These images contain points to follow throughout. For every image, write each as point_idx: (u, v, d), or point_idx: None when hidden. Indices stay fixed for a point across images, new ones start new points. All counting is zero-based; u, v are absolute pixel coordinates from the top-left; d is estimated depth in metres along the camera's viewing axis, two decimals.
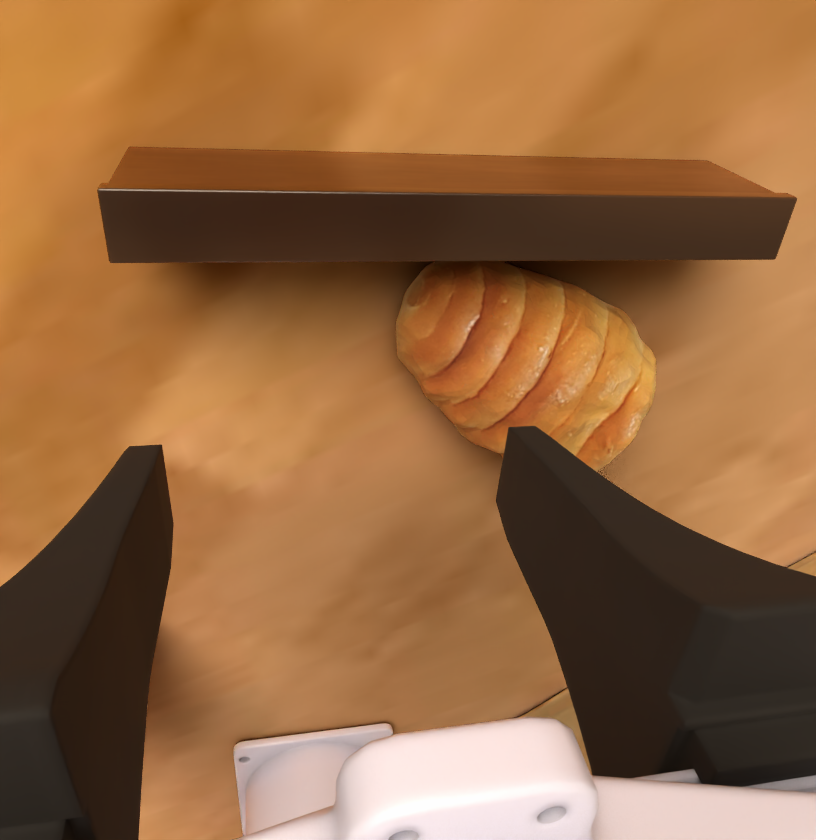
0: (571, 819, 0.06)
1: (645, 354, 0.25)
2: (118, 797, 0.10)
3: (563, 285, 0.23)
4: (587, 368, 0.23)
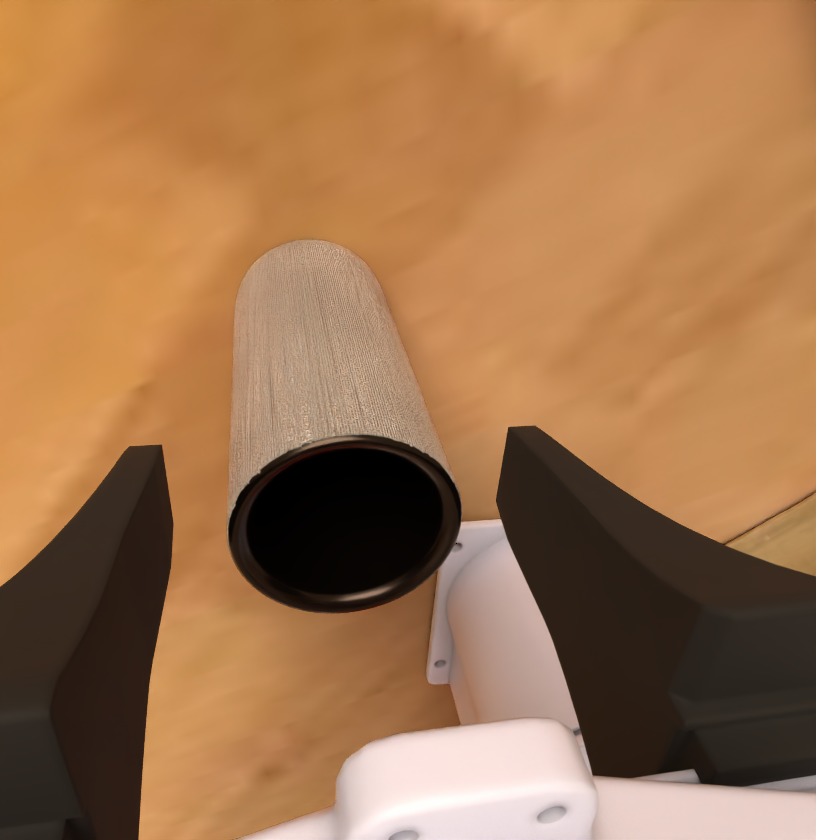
0: (570, 819, 0.06)
1: None
2: (118, 797, 0.10)
3: None
4: None
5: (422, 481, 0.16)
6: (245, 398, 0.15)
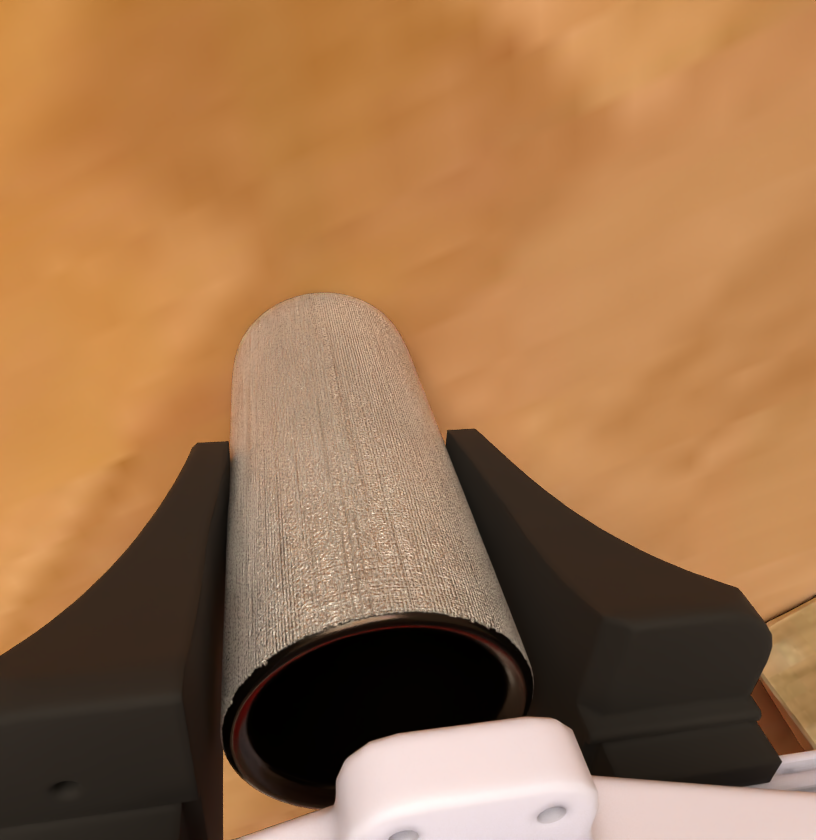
0: (571, 819, 0.06)
1: None
2: (212, 784, 0.10)
3: None
4: None
5: None
6: (245, 525, 0.12)
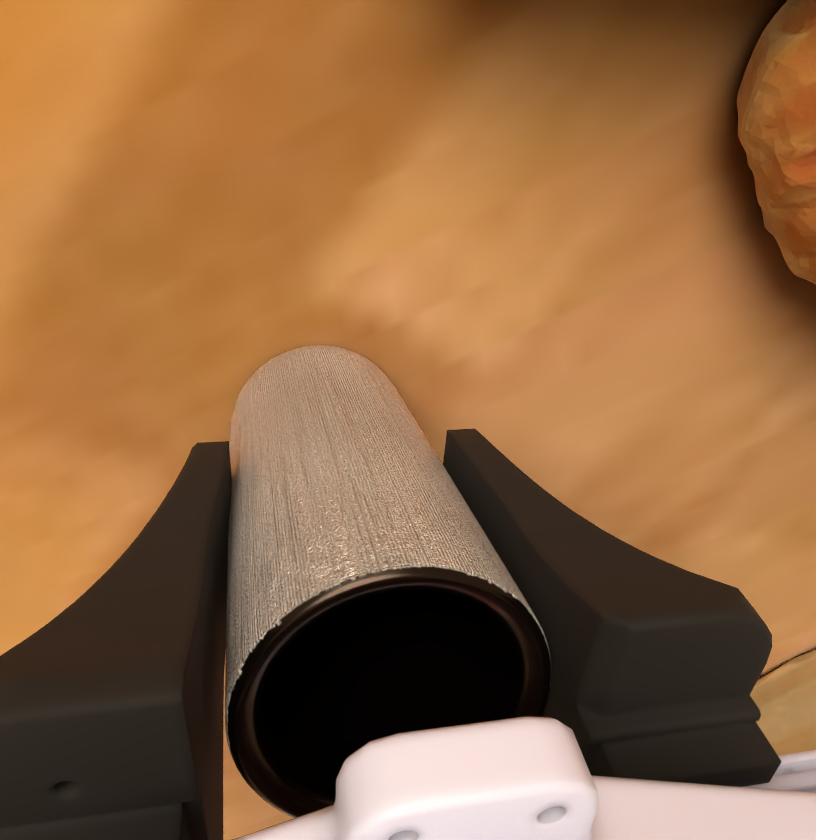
0: (571, 819, 0.06)
1: None
2: (213, 784, 0.10)
3: None
4: None
5: (483, 633, 0.12)
6: (251, 523, 0.12)
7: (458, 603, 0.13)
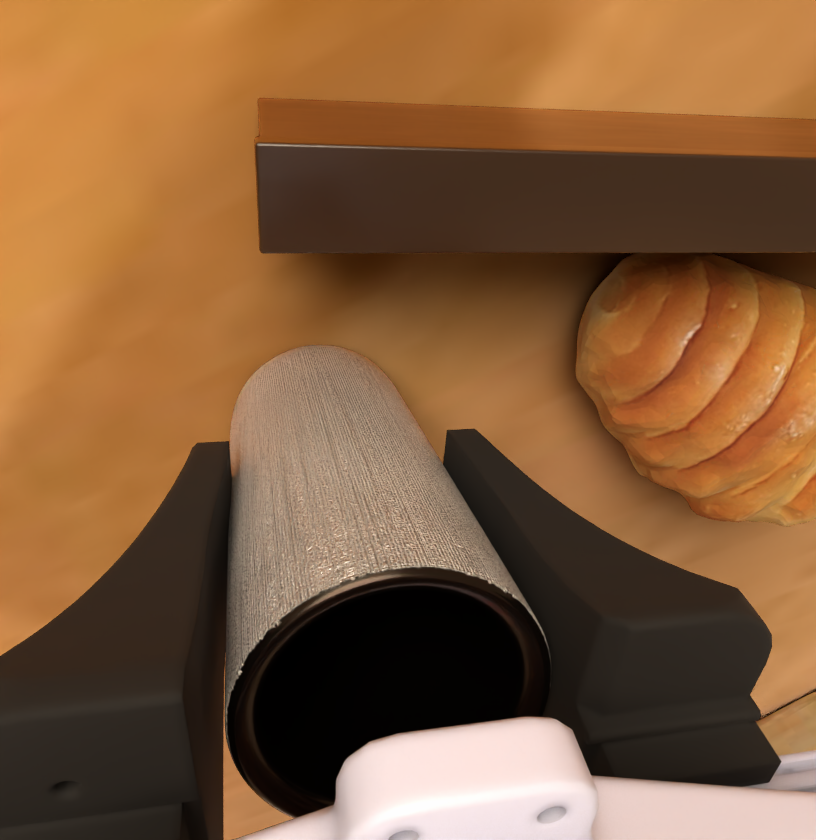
0: (571, 819, 0.06)
1: None
2: (213, 784, 0.10)
3: (797, 285, 0.18)
4: None
5: (483, 633, 0.12)
6: (251, 523, 0.12)
7: (458, 603, 0.13)
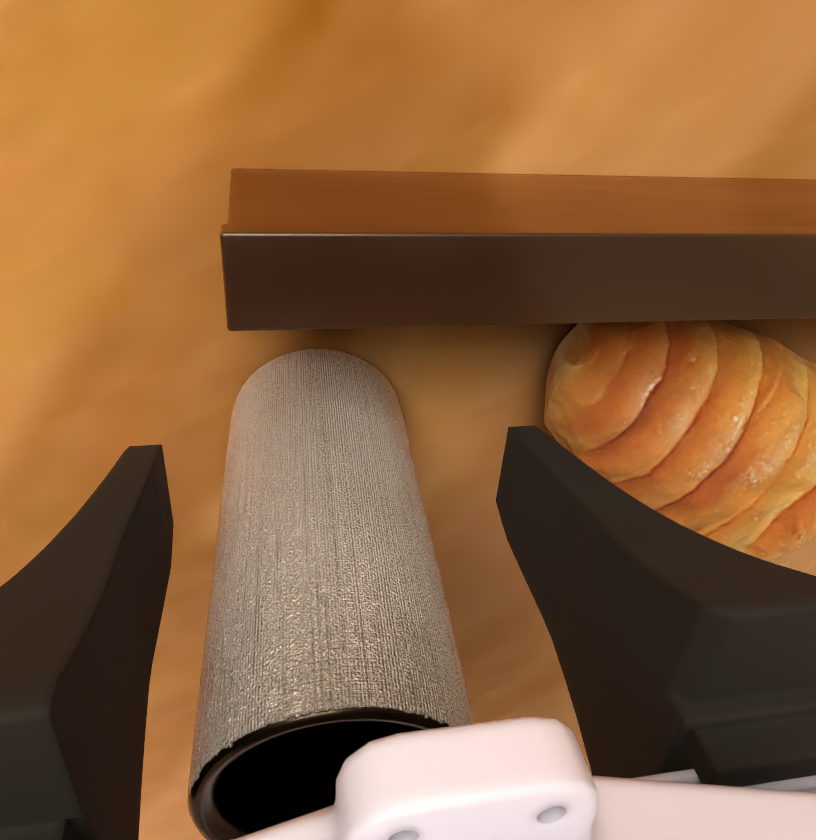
0: (571, 819, 0.06)
1: None
2: (118, 797, 0.10)
3: (757, 337, 0.19)
4: (788, 440, 0.18)
5: None
6: (226, 594, 0.12)
7: None
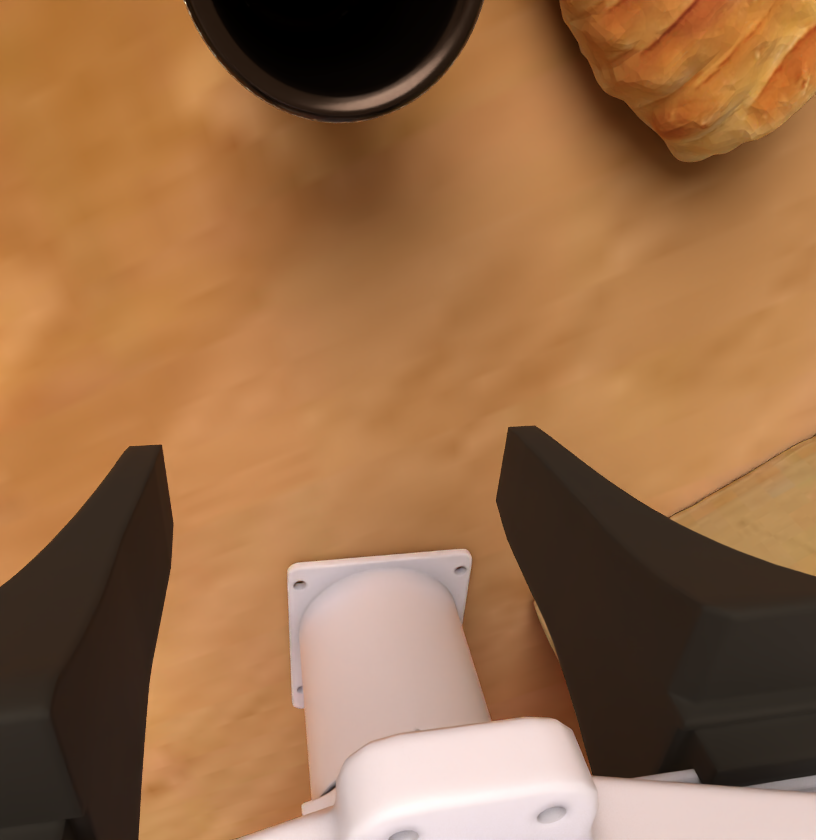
0: (571, 819, 0.06)
1: None
2: (118, 797, 0.10)
3: None
4: None
5: None
6: None
7: None
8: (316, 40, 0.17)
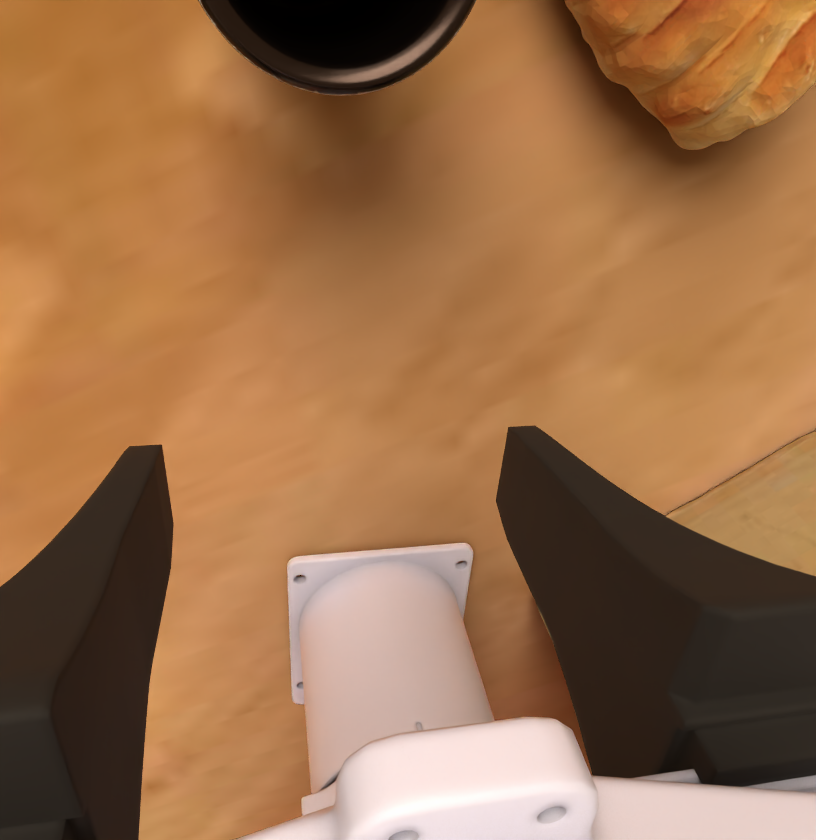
0: (571, 819, 0.06)
1: None
2: (118, 797, 0.10)
3: None
4: None
5: None
6: None
7: None
8: (317, 22, 0.16)
